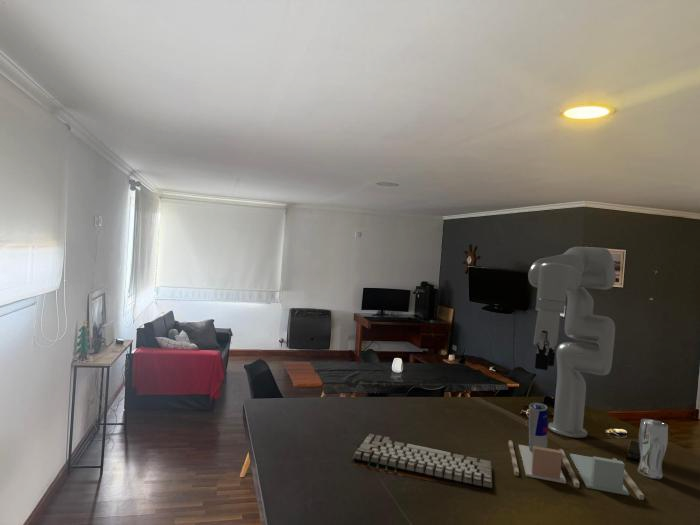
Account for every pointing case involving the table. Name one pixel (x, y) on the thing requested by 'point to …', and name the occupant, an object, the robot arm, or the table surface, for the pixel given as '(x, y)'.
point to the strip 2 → (601, 473)
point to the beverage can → (537, 425)
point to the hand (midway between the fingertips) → (544, 367)
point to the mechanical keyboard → (423, 463)
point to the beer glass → (652, 447)
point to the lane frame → (572, 474)
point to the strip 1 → (542, 463)
